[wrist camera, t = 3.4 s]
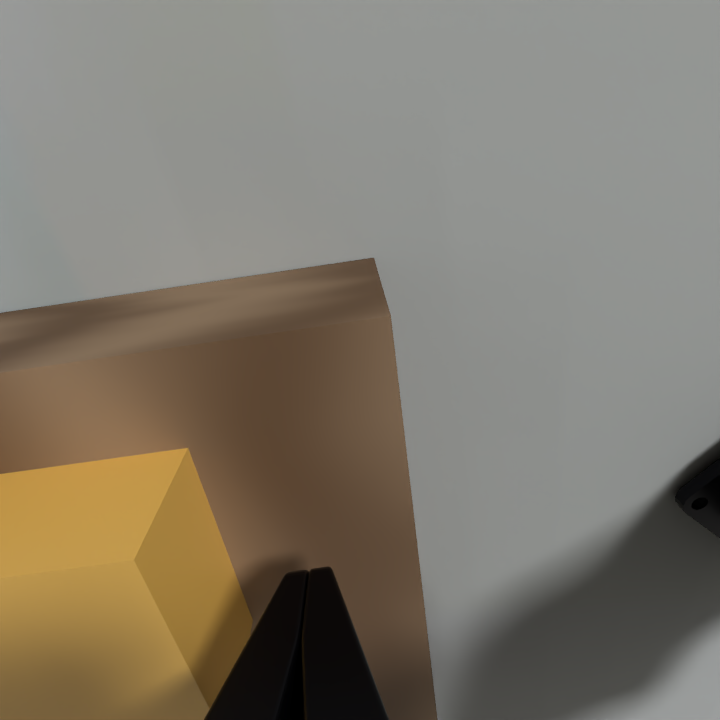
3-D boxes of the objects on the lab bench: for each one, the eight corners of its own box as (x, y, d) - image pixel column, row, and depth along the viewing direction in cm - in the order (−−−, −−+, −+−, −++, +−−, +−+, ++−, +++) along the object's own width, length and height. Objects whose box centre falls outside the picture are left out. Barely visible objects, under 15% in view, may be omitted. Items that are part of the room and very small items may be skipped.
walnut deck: (374, 257, 11) (390, 316, 8) (427, 685, 19) (448, 813, 15) (-261, 351, 11) (-535, 450, 8) (51, 732, 19) (-14, 868, 16)
